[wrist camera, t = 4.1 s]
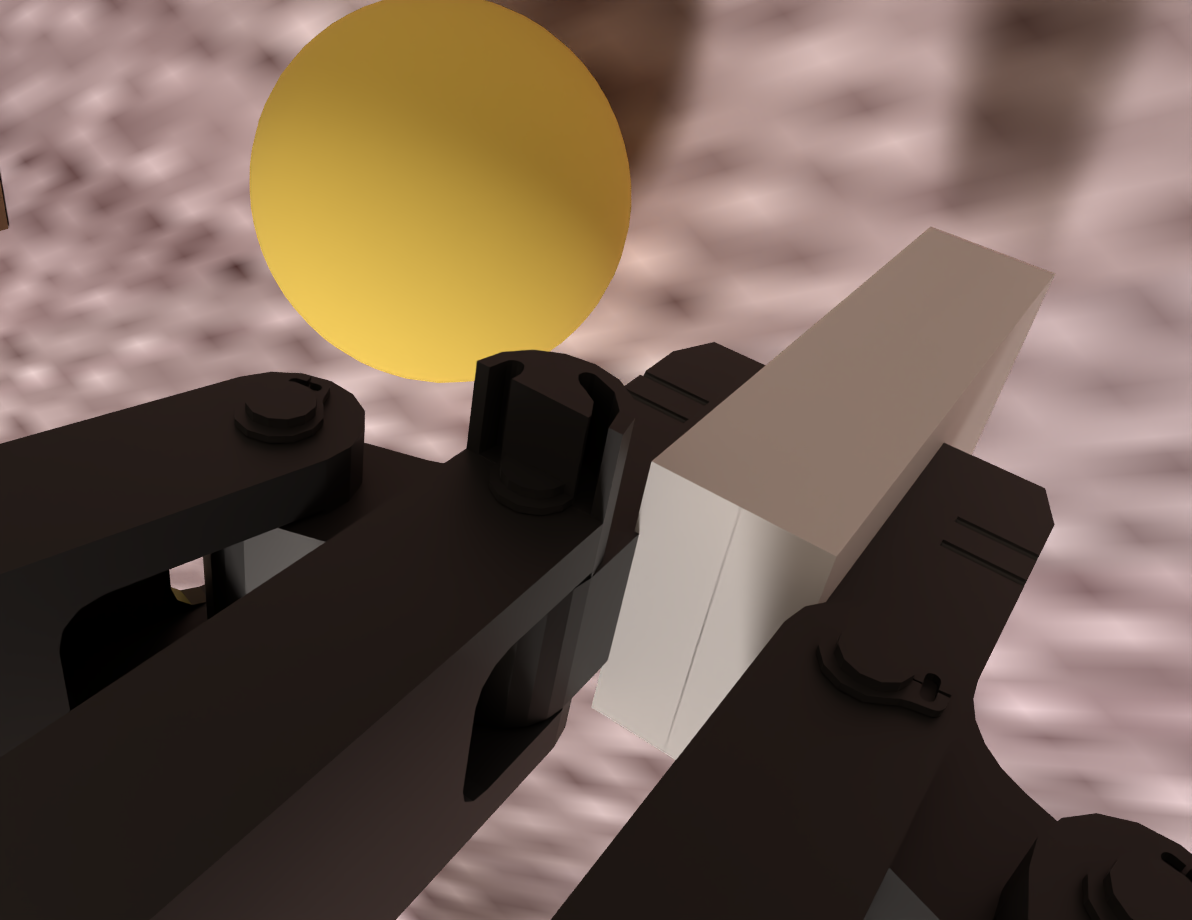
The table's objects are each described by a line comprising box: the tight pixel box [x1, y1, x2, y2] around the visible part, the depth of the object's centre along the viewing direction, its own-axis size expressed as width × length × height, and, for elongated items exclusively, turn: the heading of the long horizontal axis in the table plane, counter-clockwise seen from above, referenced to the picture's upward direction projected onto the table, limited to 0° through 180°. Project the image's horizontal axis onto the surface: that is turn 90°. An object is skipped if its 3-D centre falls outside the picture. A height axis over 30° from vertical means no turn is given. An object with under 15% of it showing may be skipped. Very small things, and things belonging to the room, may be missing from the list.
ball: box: [250, 0, 631, 383], centre depth 16 cm, size 6×6×6 cm
